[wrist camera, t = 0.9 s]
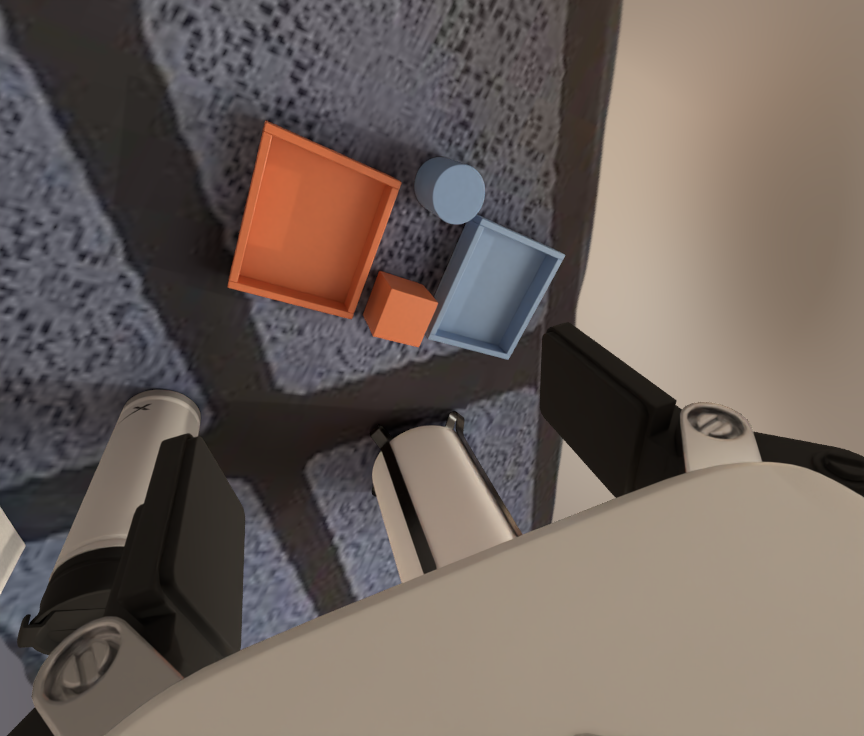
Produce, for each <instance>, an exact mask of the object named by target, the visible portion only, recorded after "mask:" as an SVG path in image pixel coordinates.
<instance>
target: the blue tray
mask: <svg viewBox="0 0 864 736" xmlns="http://www.w3.org/2000/svg"><path fill="white" fill-rule="evenodd" d="M564 257H565V254H563V253H561V252H559V251H557V250H555V249H553V248H551V247H549V246H547V245H544V244H542V243H540V242H538V241H535V240H533V239H531V238H529V237H526V236H524V235H522V234H520V233H517V232H515V231H513V230H511V229H509V228H506V227H504V226H502V225H500V224H497V223H495V222H493V221H491V220H488V219H486V218H484V217H482V216H479V215H477V214H476V216H475V217H473V218H472V219H471V220H469V221H468V222H466V225H465V227H464V229H463V231H462V234H461V236H460V238H459V241H458V243H457V245H456V247H455V250H454V252H453V254H452V257H451V259H450V261H449V263H448V266H447V268H446V270H445V273H444V275H443V277H442V279H441V282H440V284H439V286H438V288H437V291H436V293H435V295H434V298H435V300H436V301H437V302H438V305H437V308H436V310H435V312H434V314H433V317H432V319H431V321H430V323H429V325H428V328H427V330H426V332H425V336H426V337H427V338H428V339H430V340H434V341H438V342H442V343H446V344H449V345H453V346H457V347H461V348H465V349H469V350H473V351H477V352H481V353H484V354H488V355H492V356H496V357H500V358H504V359H509V357H510V355H511V354H512V352H513V350H514V348H515V346H516V345H517V343H518V341H519V339H520V337H521V335H522V334H523V332H524V330H525V328H526V326H527V325H528V323H529V321H530V319H531V317H532V315H533V314H534V312H535V310H536V308H537V306H538V304H539V303H540V301H541V299H542V297H543V295H544V293H545V292H546V290H547V288H548V286H549V284H550V282H551V281H552V279H553V277H554V275H555V273H556V271H557V270H558V268H559V266H560V264H561V262H562V260H563V259H564Z"/></svg>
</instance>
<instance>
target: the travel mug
mask: <svg viewBox="0 0 864 736" xmlns="http://www.w3.org/2000/svg"><path fill="white" fill-rule="evenodd" d="M200 421H201V414H200V411H199V409H198V407H197V405H196V404H195V403H194V402H193V401H192V400H191V399H189V398H188V397H186V396H185V395H183V394H180V393H178V392H174V391H170V390H150V391H145V392H142V393H139V394H137V395H135V396H134V397H132V398H131V399H130V400H128V402H127V403H126V404H125V405H124V407H123V410H122V412H121V414H120V416H119V419H118V421H117V423H116V426H115V428H114V430H113V433H112V435H111V437H110V440H109V442H108V444H107V447H106V449H105V451H104V453H103V456H102V458H101V460H100V463H99V465H98V467H97V470H96V472H95V474H94V477H93V479H92V481H91V484H90V486H89V488H88V491H87V493H86V495H85V497H84V500H83V502H82V504H81V507H80V509H79V511H78V514H77V516H76V518H75V521H74V523H73V525H72V528H71V530H70V532H69V534H68V537H67V539H66V541H65V544H64V546H63V548H62V551H61V553H60V555H59V558H58V560H57V562H56V565H55V567H54V569H53V572H52V574H51V576H50V578H49V584H48V586H47V589H46V591H45V593H44V595H43V598H42V600H41V603H40V611H39V613H38V615H37V616H36V617H35V618H34V619H33V620H32V621H31V622H30V624H29V620H30V616H31V615H26V616H25V617H24V618H23V620H22V623H21V627H20V630H19V634H18V639H17V643H18V647H20V648H21V647H33V648H34V649H35V650H37V651H39V652H41V653H43V654H47V655H50V654H51V652H52V651H53V650H54V649H55V648H56V647H57V646H58V645H59V644H60V643H61V642H62V641H63V640H64V639H65V638H66V637H68V636H69V635H70V634H72V633H73V632H74V631H76V630H77V629H78V628H80V627H82V626H83V625H85V624H87V623H89V622H91V621H93V620H96V619H99V618H103V615H104V612H105V609H106V605H107V602H108V599H109V595H110V592H111V589H112V585H113V582H114V579H115V575H116V572H117V569H118V565H119V562H120V559H121V555H122V552H123V549H124V545H125V542H126V539H127V535H128V532H129V529H130V525H131V522H132V519H133V515H134V513H135V511H136V508H137V507H138V506H139V505H141V504H144V501H145V497H146V494H147V490H148V487H149V483H150V480H151V476H152V473H153V469H154V465H155V462H156V458H157V455H158V451H159V448H160V444H161V442H162V441H163V440H166V439H169V438H173V437H176V436H179V435H183V434H186V433H190V434H191V435H192V436H193V437H197V436H198V433H199V427H200ZM28 624H29V625H28Z"/></svg>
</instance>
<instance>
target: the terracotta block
mask: <svg viewBox="0 0 864 736" xmlns="http://www.w3.org/2000/svg"><path fill="white" fill-rule="evenodd" d="M437 305H438V302H437V301H436V300H435V298H434V297H433V296H432V295H431V294H430V293H429V291H428V290H427V289H426V288H425V287H424V286H423V285H422V284H419V283H416V282H413V281H410V280H407V279H404V278H401V277H398V276H395V275H392V274H389V273H386V272H382V271H379V273H378V275H377V278H376V281H375V283H374V286H373V289H372V291H371V294H370V297H369V299H368V302H367V305H366V307H365V310H364V313H363V316H364V318H365V320H366V322H367V324H368V327H369V329H370V331H371V333H372V335H373V336H374V337H379V338H383V339H387V340H391V341H395V342H399V343H403V344H407V345H411V346H416V347H419V346H420V343H421V341H422V339H423V337H424V334H425V332H426V330H427V328H428V325H429V323H430V321H431V319H432V317H433V314H434V312H435V310H436V308H437Z"/></svg>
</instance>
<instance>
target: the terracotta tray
mask: <svg viewBox="0 0 864 736" xmlns="http://www.w3.org/2000/svg"><path fill="white" fill-rule="evenodd" d="M400 186H401V182H400V181H399V180H397V179H396V178H394V177H392V176H390V175H387V174H385V173H383V172H381V171H378V170H376V169H374V168H372V167H370V166H367V165H365V164H363V163H361V162H358V161H356V160H354V159H352V158H349V157H347V156H345V155H343V154H340V153H338V152H336V151H334V150H331V149H329V148H327V147H325V146H322V145H320V144H318V143H316V142H313V141H311V140H309V139H307V138H305V137H302V136H300V135H298V134H296V133H293V132H291V131H289V130H287V129H284V128H282V127H280V126H278V125H275V124H273V123H271V122H269V121H266V120H265V123H264V127H263V132H262V136H261V140H260V145H259V149H258V153H257V158H256V162H255V166H254V171H253V175H252V179H251V184H250V188H249V192H248V197H247V201H246V205H245V210H244V214H243V218H242V223H241V227H240V231H239V236H238V240H237V245H236V249H235V253H234V258H233V262H232V266H231V271H230V275H229V280H228V286H227V287H228V288H231V289H235V290H239V291H243V292H247V293H251V294H255V295H259V296H263V297H266V298H270V299H274V300H278V301H282V302H286V303H290V304H294V305H298V306H301V307H305V308H309V309H313V310H317V311H321V312H325V313H329V314H333V315H337V316H340V317H344V318H348V319H352V317H353V315H354V312H355V309H356V306H357V304H358V301H359V298H360V295H361V293H362V290H363V287H364V284H365V282H366V279H367V276H368V274H369V271H370V268H371V265H372V263H373V260H374V257H375V254H376V252H377V249H378V246H379V243H380V241H381V238H382V235H383V232H384V230H385V227H386V224H387V221H388V219H389V216H390V213H391V211H392V208H393V205H394V202H395V200H396V197H397V194H398V191H399V190H398V189H400Z"/></svg>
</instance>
